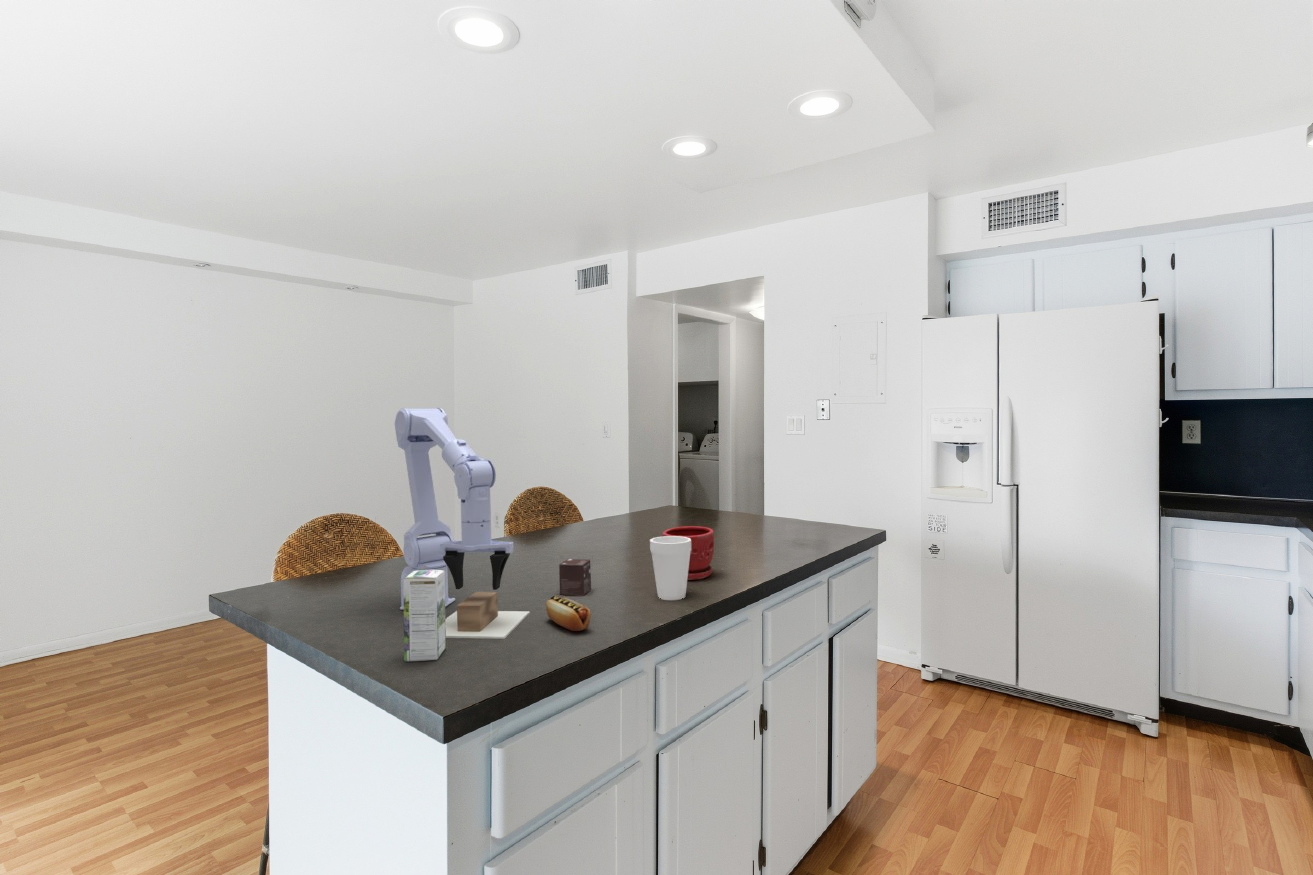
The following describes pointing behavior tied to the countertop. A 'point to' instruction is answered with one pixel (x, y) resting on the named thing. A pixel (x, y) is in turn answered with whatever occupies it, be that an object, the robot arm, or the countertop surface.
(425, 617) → the syrup box
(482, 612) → the wooden block
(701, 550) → the plant pot
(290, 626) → the countertop surface
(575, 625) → the hot dog
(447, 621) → the mat
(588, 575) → the box
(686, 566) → the foam cup
